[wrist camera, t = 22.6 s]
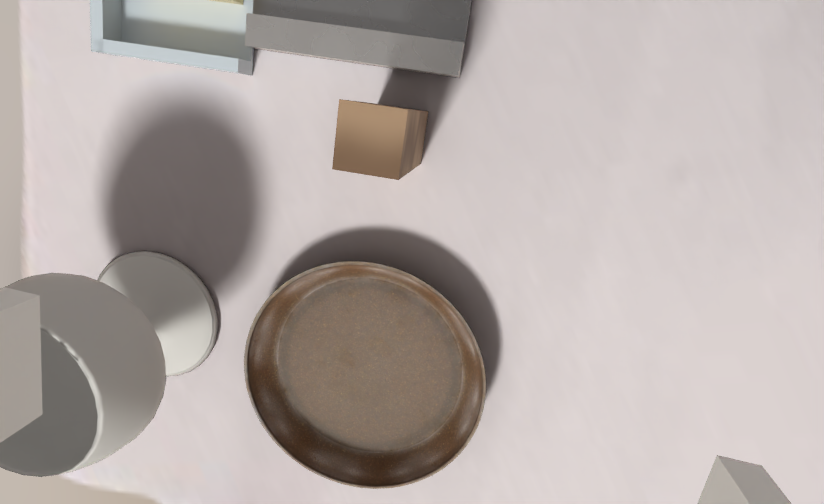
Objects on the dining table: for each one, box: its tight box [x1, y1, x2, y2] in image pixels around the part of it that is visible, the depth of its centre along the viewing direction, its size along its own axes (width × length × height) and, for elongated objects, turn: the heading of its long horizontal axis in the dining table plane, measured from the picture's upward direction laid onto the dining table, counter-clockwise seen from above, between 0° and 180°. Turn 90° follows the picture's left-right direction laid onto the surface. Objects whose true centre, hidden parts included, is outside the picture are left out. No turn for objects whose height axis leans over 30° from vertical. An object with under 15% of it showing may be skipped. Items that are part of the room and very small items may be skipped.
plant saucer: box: [244, 261, 486, 489], centre depth 45 cm, size 21×21×3 cm
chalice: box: [0, 251, 218, 477], centre depth 40 cm, size 14×14×15 cm
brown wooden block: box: [332, 99, 428, 180], centre depth 35 cm, size 4×4×11 cm
